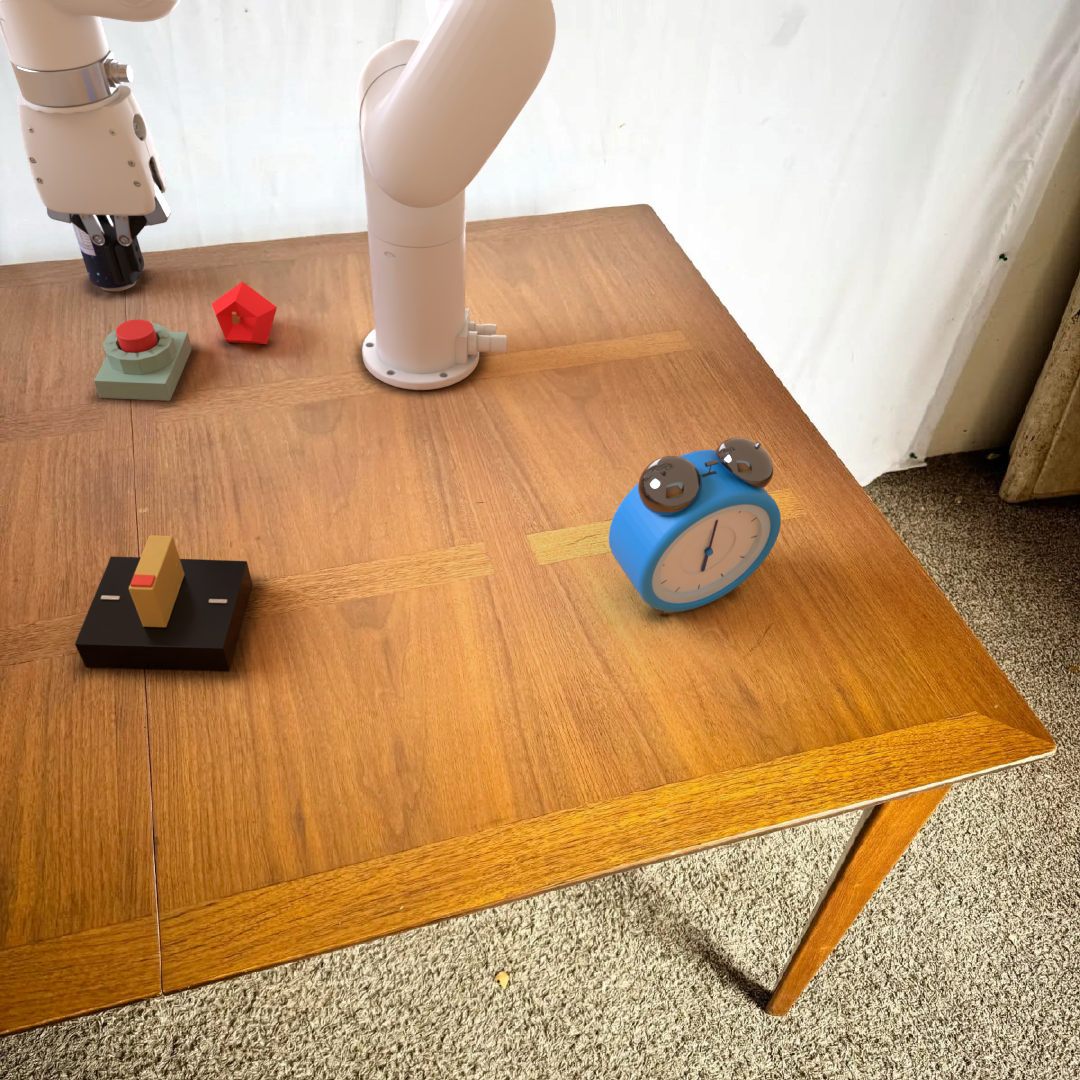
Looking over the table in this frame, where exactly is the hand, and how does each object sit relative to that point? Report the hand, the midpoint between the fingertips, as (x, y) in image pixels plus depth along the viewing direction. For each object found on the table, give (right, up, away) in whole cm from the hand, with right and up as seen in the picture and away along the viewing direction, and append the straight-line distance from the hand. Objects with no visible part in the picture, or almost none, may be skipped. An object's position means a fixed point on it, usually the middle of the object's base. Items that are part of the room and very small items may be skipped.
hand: (129, 276), depth 92 cm
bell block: (-2, -8, +8) cm, 11 cm away
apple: (+7, -3, +14) cm, 16 cm away
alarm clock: (+51, -29, -8) cm, 60 cm away
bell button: (-1, -5, +5) cm, 8 cm away
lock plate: (+10, -32, -14) cm, 36 cm away
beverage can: (-10, +5, +20) cm, 22 cm away
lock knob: (+10, -30, -16) cm, 36 cm away
